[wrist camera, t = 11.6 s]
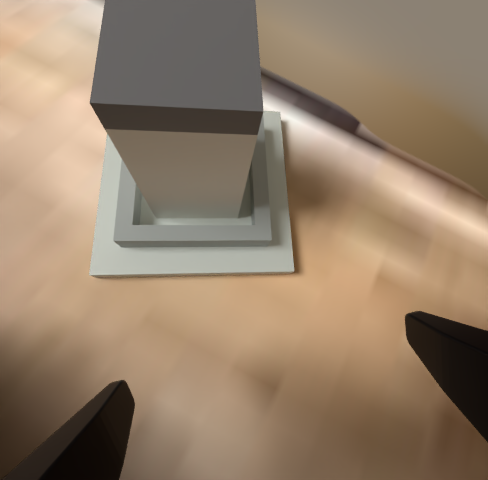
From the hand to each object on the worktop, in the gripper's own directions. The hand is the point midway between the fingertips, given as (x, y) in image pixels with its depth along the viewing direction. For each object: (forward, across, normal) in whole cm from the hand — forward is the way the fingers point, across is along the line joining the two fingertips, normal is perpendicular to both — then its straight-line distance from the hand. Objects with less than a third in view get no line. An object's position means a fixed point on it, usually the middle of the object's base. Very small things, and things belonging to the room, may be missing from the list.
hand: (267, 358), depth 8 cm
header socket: (+13, +2, -5) cm, 14 cm away
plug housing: (+12, +2, -5) cm, 14 cm away
